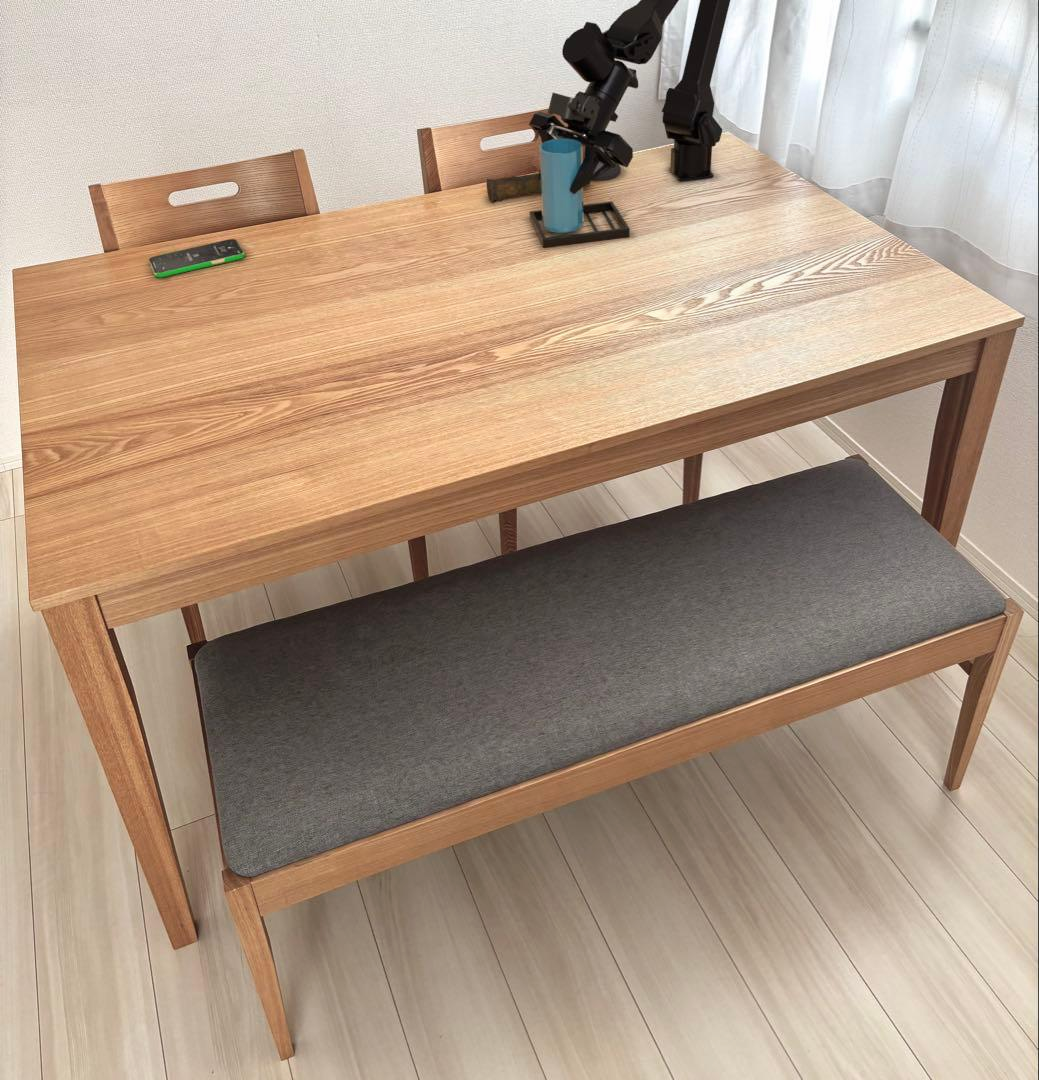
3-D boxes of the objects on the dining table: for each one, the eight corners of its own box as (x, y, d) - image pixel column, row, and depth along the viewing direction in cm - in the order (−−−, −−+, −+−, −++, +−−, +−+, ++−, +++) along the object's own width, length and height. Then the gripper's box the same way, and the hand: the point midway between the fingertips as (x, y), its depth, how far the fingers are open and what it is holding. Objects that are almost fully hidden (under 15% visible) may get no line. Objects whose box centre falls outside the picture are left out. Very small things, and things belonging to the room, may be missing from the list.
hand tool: (490, 205, 187) (488, 180, 184) (486, 197, 190) (484, 171, 187) (593, 192, 189) (593, 167, 186) (588, 184, 192) (587, 159, 189)
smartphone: (147, 257, 176) (235, 236, 180) (148, 262, 176) (236, 242, 180) (154, 274, 170) (245, 253, 174) (156, 279, 171) (246, 258, 175)
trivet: (614, 162, 199) (614, 158, 199) (625, 177, 193) (625, 173, 193) (573, 167, 198) (573, 163, 198) (582, 183, 192) (582, 178, 192)
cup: (578, 213, 178) (576, 136, 169) (587, 229, 173) (586, 151, 164) (539, 218, 177) (535, 141, 169) (547, 235, 172) (543, 156, 164)
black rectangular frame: (612, 209, 183) (612, 201, 182) (629, 237, 174) (629, 228, 173) (530, 219, 181) (529, 211, 180) (543, 248, 172) (542, 239, 171)
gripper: (534, 59, 167) (488, 149, 169) (621, 81, 156) (571, 176, 158) (570, 97, 176) (526, 181, 178) (654, 120, 165) (607, 210, 167)
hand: (555, 186), depth 170 cm, fingers closed on cup, 7 cm apart
